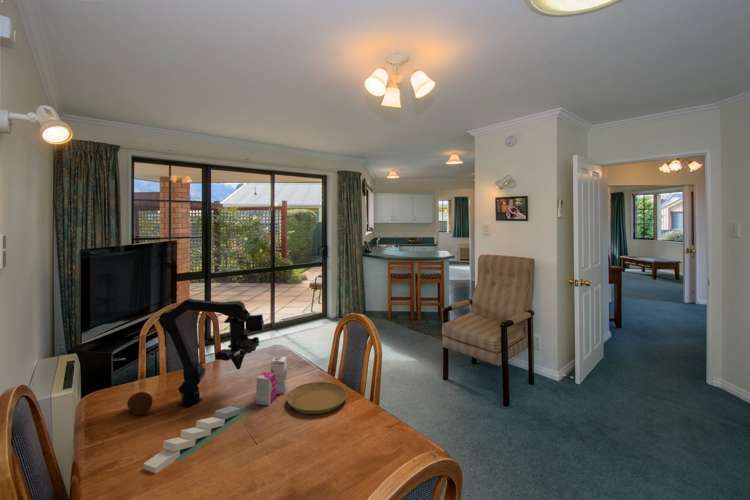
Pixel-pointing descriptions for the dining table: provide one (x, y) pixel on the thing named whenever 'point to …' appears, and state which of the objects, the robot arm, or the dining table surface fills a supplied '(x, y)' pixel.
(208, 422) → the domino
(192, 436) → the domino
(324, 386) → the plant saucer
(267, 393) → the supplement box
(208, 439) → the strip
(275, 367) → the syrup box
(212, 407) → the dining table surface
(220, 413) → the slate domino
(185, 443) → the domino
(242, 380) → the dining table surface
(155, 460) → the domino
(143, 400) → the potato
